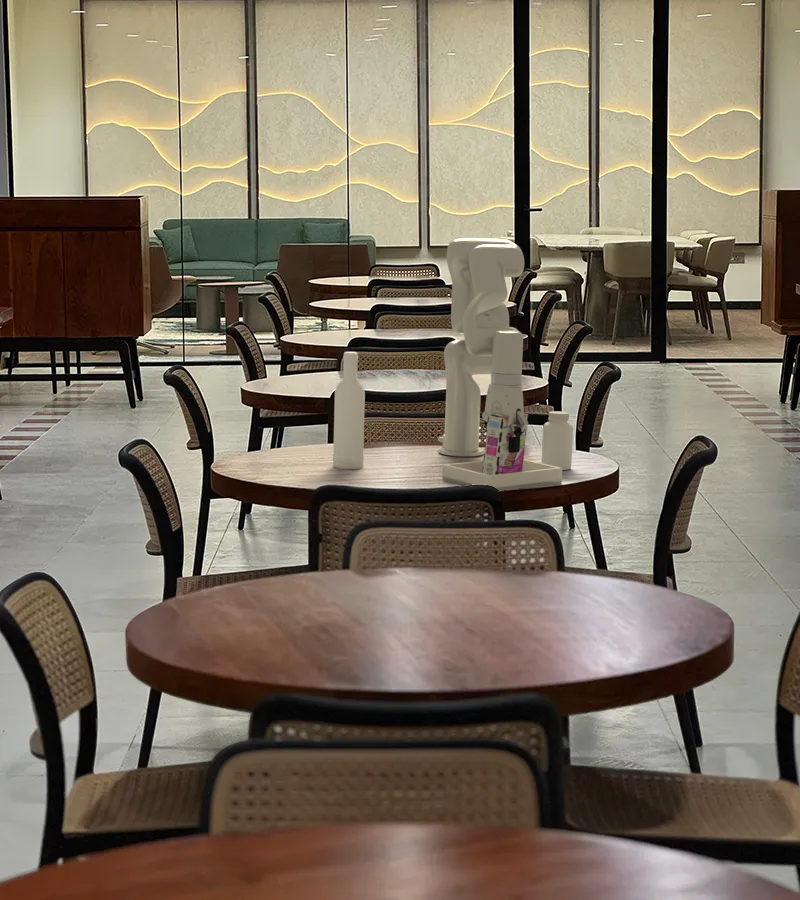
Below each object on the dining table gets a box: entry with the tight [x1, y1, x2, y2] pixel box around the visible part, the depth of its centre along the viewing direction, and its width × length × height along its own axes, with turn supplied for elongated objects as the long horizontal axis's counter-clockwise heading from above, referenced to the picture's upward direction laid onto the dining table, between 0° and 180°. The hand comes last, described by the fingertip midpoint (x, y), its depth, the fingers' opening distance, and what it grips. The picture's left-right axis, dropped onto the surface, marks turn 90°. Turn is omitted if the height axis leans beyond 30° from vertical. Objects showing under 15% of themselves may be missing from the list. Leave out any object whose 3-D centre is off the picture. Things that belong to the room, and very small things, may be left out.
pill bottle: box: [541, 410, 574, 471], centre depth 417 cm, size 8×8×15 cm
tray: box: [442, 458, 563, 492], centre depth 396 cm, size 18×24×4 cm
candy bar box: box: [482, 412, 529, 475], centre depth 394 cm, size 11×5×16 cm, turn 140°
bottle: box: [332, 351, 366, 470], centre depth 408 cm, size 8×8×30 cm
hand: (503, 449), depth 395 cm, fingers open, 7 cm apart
